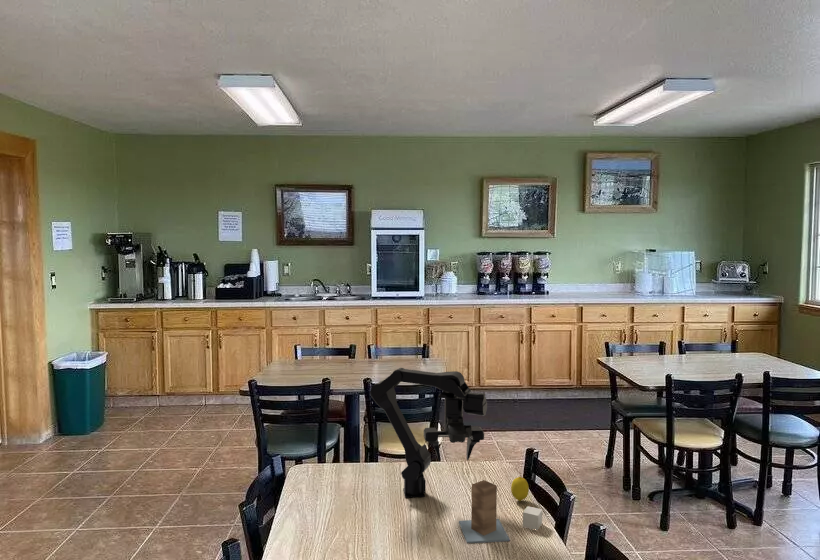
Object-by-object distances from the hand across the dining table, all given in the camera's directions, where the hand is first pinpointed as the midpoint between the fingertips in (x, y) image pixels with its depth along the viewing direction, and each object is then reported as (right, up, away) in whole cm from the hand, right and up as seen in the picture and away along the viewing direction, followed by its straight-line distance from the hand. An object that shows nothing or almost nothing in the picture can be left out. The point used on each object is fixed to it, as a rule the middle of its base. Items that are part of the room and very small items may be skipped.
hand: (453, 460), depth 184 cm
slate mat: (+7, -14, -20) cm, 25 cm away
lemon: (+21, -13, 0) cm, 25 cm away
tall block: (+7, -14, -19) cm, 25 cm away
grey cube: (+22, -14, -16) cm, 31 cm away
